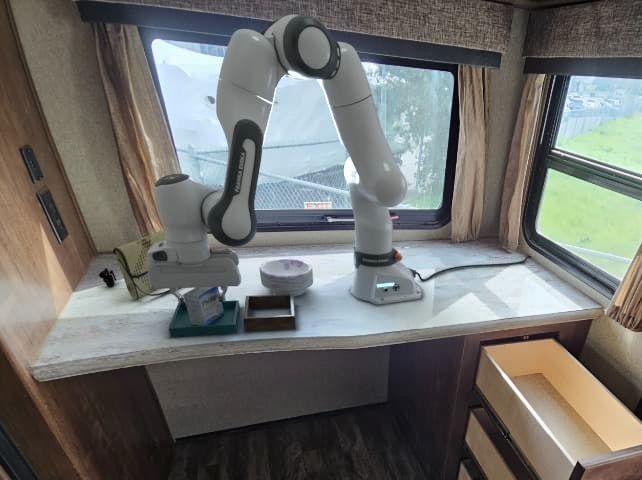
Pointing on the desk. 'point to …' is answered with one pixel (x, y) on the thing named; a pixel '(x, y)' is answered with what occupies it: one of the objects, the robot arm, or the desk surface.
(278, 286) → the paper bowls
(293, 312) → the wooden floating shelf
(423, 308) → the desk surface
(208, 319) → the medicine box
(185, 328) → the tray
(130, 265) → the clutch purse
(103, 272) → the wireless earbuds
